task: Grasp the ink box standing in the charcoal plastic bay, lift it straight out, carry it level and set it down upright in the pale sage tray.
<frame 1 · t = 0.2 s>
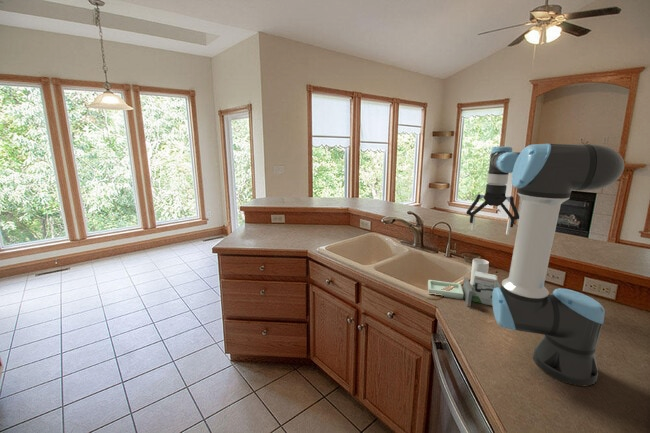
hand: (489, 232, 133), 27 cm above the worktop, fingers open, 13 cm apart
tray: (444, 291, 136), on the worktop
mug: (479, 284, 143), on the worktop
bay: (481, 300, 128), on the worktop
ink box: (481, 301, 128), resting in bay
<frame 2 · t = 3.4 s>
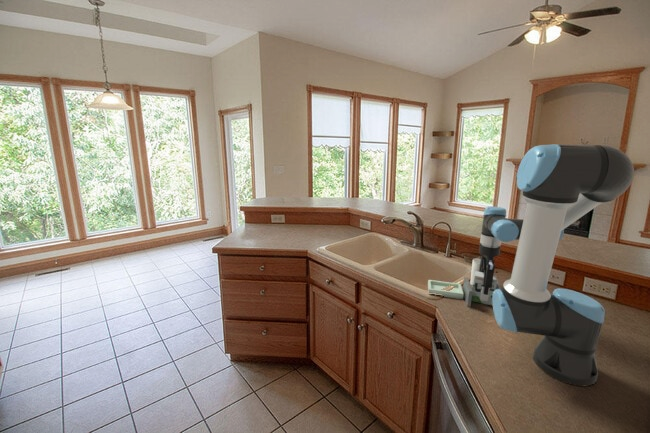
hand: (482, 296, 128), 2 cm above the worktop, fingers closed on ink box, 6 cm apart
ink box: (481, 301, 128), resting in bay, touching gripper
everything else where it was.
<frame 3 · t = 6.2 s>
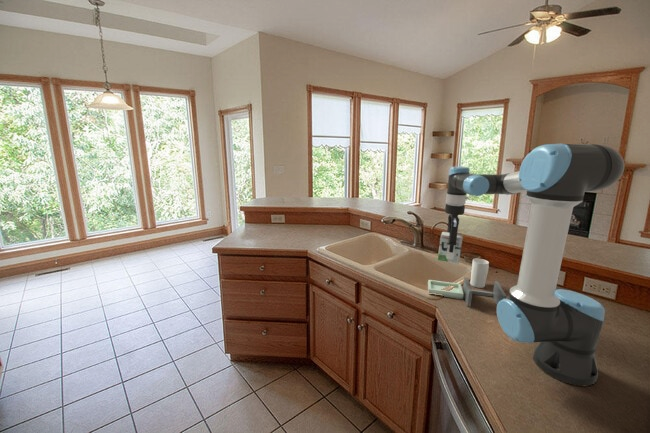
hand: (449, 256, 132), 17 cm above the worktop, fingers closed on ink box, 6 cm apart
ink box: (448, 260, 132), point 15 cm above the worktop, touching gripper
everything else where it was.
when the fingers open (4 cm above the worktop, at t = 9.2 s): ink box drops 1 cm, resting on tray.
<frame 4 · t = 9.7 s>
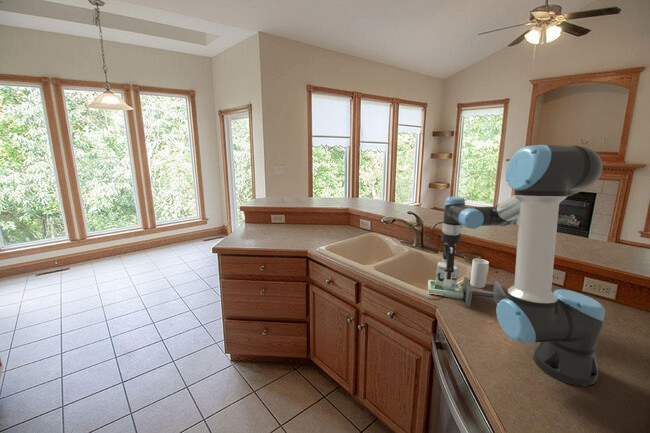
hand: (445, 279, 134), 6 cm above the worktop, fingers open, 13 cm apart
ink box: (444, 290, 135), point 1 cm above the worktop, touching tray
everything else where it was.
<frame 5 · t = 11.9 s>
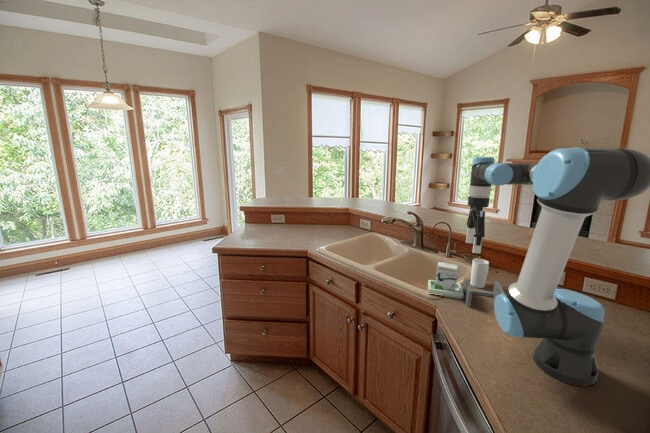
hand: (472, 247, 124), 23 cm above the worktop, fingers open, 13 cm apart
nothing on the worktop moved.
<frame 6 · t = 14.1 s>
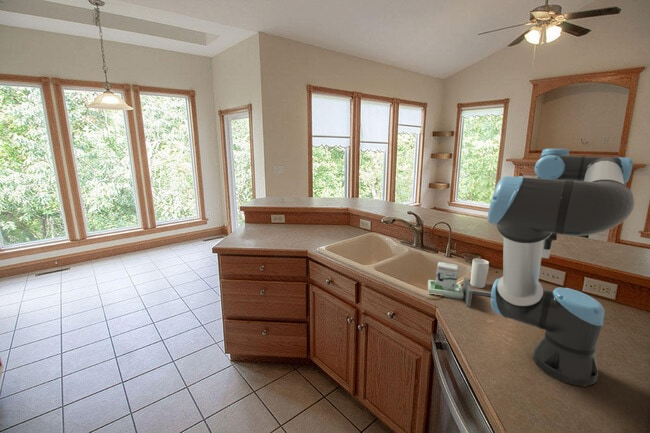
hand: (536, 251, 111), 27 cm above the worktop, fingers open, 13 cm apart
nothing on the worktop moved.
at the end: ink box inside the target area on the tray (0.3 cm from its centre), point 0.8 cm above the tray's base; ink box tilted 0°; the gripper is holding nothing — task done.
